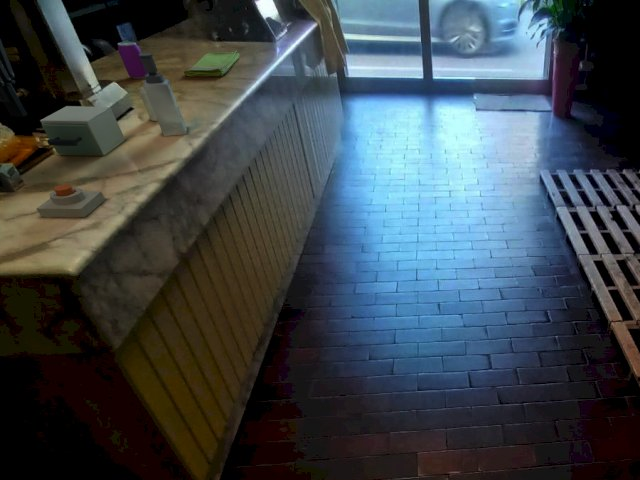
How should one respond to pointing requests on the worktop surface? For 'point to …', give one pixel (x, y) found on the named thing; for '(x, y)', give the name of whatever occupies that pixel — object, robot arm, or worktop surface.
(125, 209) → the worktop surface
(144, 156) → the worktop surface
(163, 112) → the soap dispenser
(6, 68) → the robot arm
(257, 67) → the worktop surface
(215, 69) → the dish towel
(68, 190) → the button
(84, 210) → the control block
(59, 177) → the worktop surface
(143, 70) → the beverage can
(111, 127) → the cabinet
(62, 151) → the drawer
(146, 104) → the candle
